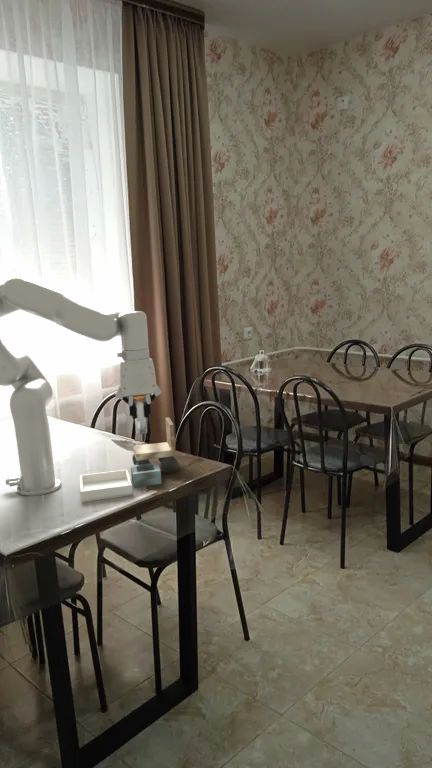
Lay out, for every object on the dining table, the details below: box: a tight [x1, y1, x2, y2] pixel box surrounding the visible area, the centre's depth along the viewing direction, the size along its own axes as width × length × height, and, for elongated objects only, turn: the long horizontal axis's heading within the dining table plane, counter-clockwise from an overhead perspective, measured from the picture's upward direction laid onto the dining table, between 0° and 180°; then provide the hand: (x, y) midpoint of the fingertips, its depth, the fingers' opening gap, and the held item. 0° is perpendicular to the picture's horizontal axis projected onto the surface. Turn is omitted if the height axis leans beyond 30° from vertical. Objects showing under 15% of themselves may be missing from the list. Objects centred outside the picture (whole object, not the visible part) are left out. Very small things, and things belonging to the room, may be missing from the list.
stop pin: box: [133, 395, 148, 435], centre depth 183 cm, size 4×4×12 cm
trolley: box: [130, 417, 179, 488], centre depth 191 cm, size 14×19×15 cm
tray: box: [79, 469, 133, 503], centre depth 181 cm, size 14×14×3 cm
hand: (140, 416), depth 183 cm, fingers closed on stop pin, 3 cm apart
